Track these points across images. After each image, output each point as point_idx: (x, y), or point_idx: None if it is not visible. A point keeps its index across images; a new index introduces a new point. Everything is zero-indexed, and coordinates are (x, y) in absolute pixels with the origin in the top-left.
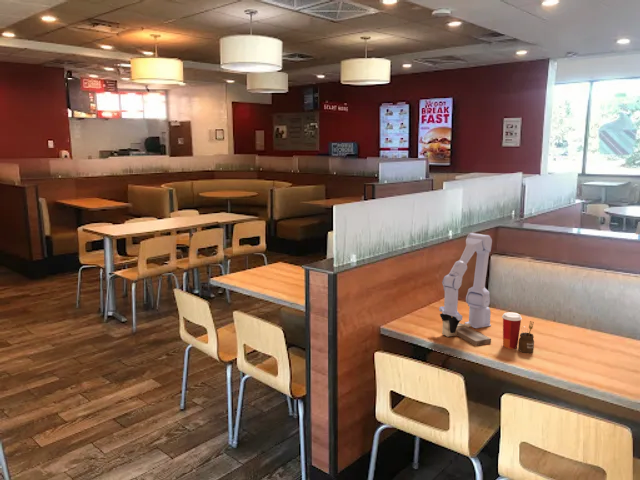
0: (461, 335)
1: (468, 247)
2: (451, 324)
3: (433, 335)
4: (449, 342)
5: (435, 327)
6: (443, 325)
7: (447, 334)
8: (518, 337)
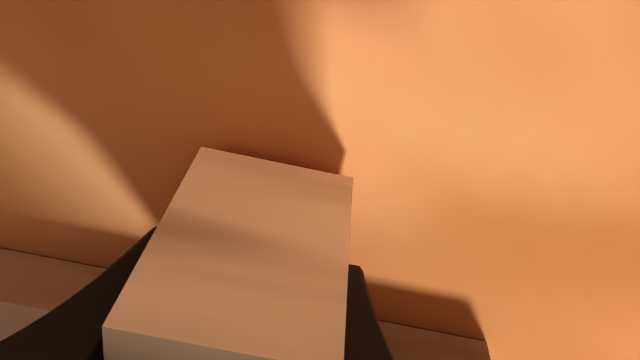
0: None
1: None
2: (7, 338)
3: (422, 19)
4: (4, 3)
5: (630, 298)
6: (312, 281)
7: (194, 166)
8: None
